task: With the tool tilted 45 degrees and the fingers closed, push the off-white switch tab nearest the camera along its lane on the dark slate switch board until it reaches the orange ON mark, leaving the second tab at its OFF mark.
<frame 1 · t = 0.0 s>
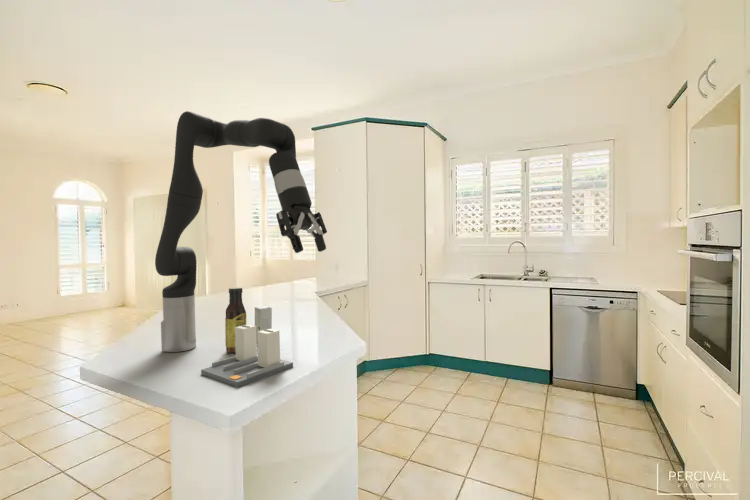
hand: (311, 251, 91), 31 cm above the table, tool tilted 20°, fingers open, 8 cm apart
skincare box: (263, 342, 127), on the table
sauce bottle: (236, 351, 117), on the table
switch board: (248, 370, 98), on the table
tab a: (268, 347, 97), point 6 cm above the table, slide at 0.0 cm
tab b: (245, 342, 103), point 6 cm above the table, slide at 0.0 cm
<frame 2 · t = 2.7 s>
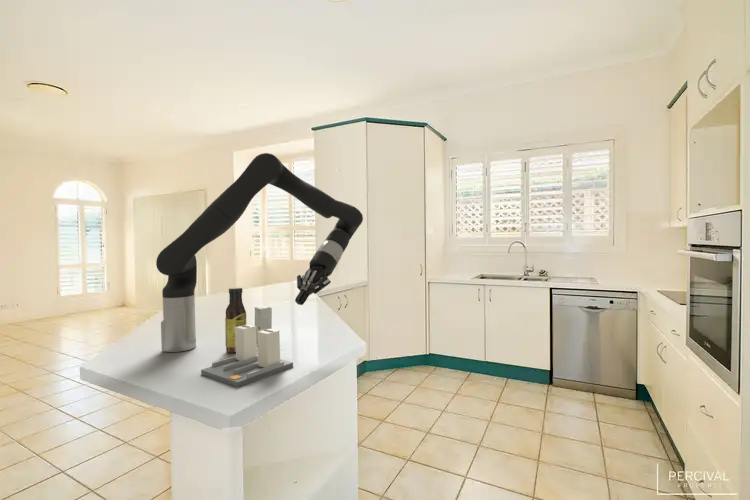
hand: (298, 303, 106), 16 cm above the table, tool tilted 45°, fingers closed
nothing on the table moved.
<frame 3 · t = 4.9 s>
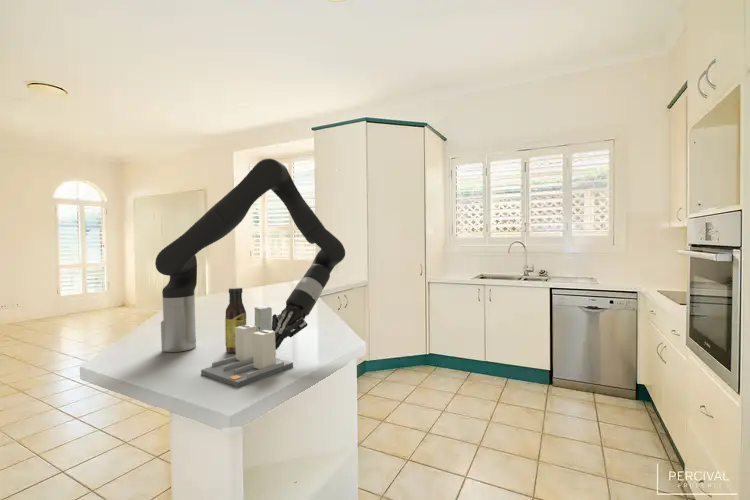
hand: (272, 347, 98), 6 cm above the table, tool tilted 45°, fingers closed
tab a: (264, 349, 96), point 6 cm above the table, slide at 1.4 cm, touching gripper
everything else where it was.
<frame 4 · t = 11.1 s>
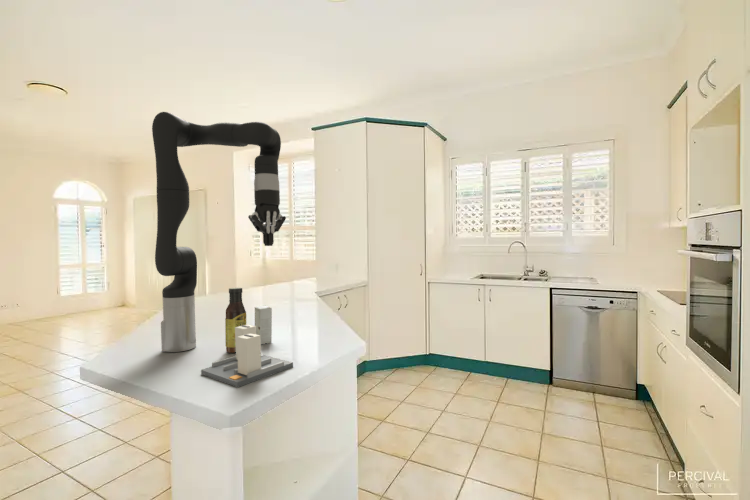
hand: (268, 245, 115), 33 cm above the table, tool pointing down, fingers closed
tab a: (249, 353, 93), point 6 cm above the table, slide at 6.0 cm
everything else where it was.
at the end: tab a slide at 6.0 cm; tab b slide at 0.0 cm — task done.
